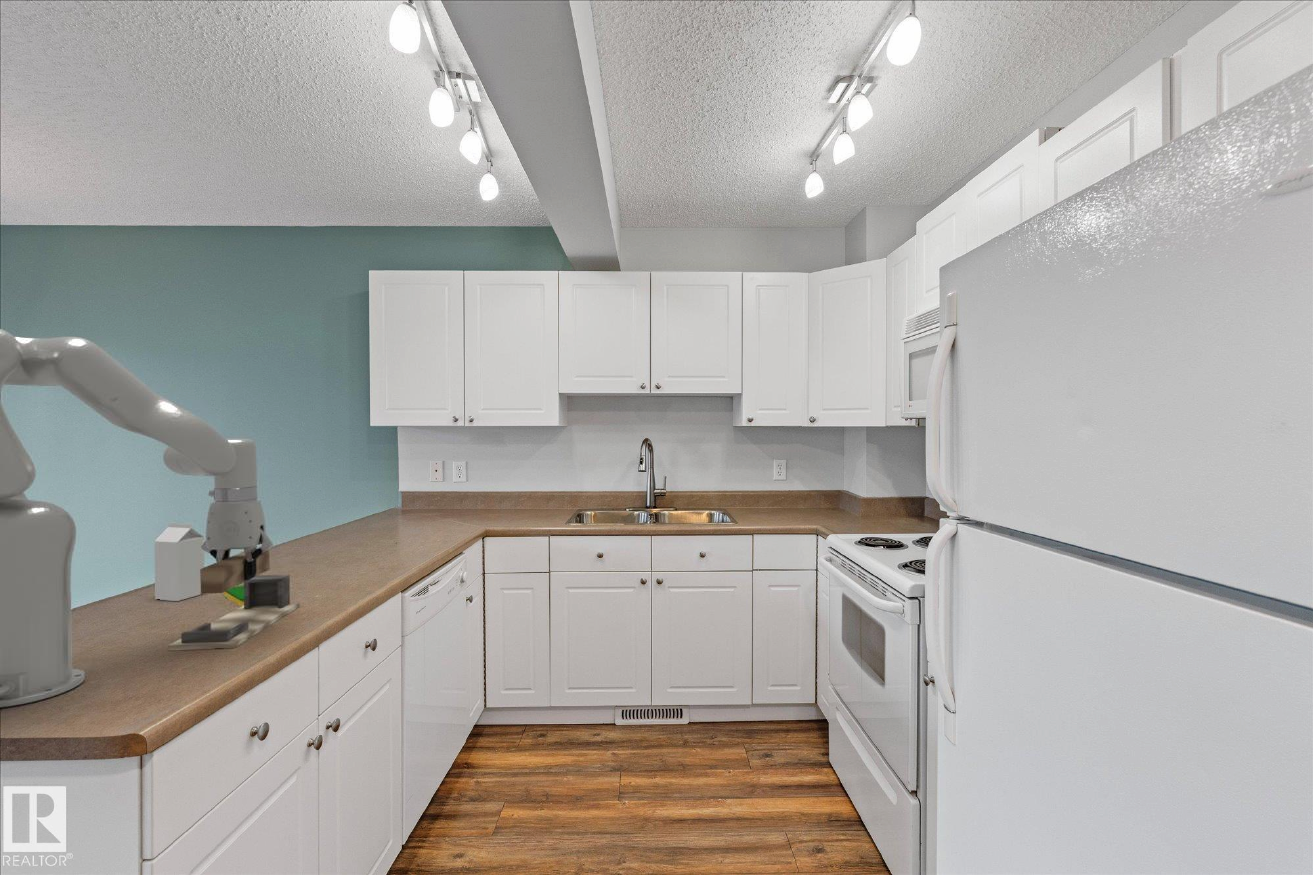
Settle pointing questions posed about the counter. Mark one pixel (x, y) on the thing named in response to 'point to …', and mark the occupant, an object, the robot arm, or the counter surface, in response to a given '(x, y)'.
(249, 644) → the counter surface
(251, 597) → the end cap board
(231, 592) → the dish sponge
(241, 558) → the walnut slat
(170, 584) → the milk carton
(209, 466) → the robot arm
